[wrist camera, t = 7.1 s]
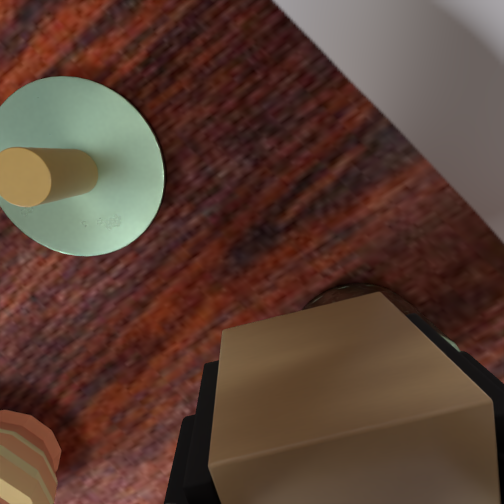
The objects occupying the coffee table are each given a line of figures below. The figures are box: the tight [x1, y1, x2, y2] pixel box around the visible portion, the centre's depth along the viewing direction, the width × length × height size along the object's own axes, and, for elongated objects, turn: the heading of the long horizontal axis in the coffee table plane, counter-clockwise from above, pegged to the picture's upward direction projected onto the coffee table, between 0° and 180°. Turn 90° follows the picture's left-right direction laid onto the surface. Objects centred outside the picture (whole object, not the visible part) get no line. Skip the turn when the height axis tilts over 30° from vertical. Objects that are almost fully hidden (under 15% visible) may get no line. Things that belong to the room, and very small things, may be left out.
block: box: [208, 292, 501, 504], centre depth 8 cm, size 4×4×4 cm
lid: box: [0, 76, 165, 256], centre depth 23 cm, size 13×13×8 cm
